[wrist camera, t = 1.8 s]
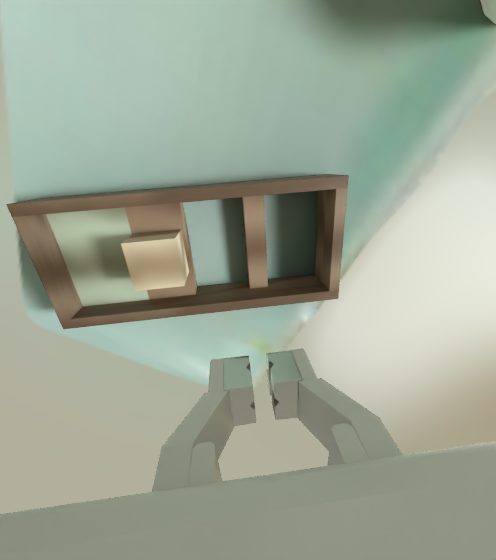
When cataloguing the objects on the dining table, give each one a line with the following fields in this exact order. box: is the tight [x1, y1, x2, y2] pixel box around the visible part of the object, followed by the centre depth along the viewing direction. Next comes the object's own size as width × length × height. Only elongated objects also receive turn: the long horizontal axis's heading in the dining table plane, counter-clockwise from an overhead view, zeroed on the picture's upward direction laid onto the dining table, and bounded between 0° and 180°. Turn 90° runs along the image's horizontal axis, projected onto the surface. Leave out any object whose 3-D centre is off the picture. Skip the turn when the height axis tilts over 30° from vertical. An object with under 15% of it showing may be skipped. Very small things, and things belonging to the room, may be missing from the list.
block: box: [121, 229, 189, 291], centre depth 24 cm, size 4×4×4 cm
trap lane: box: [7, 174, 349, 329], centre depth 25 cm, size 12×28×4 cm, turn 94°
